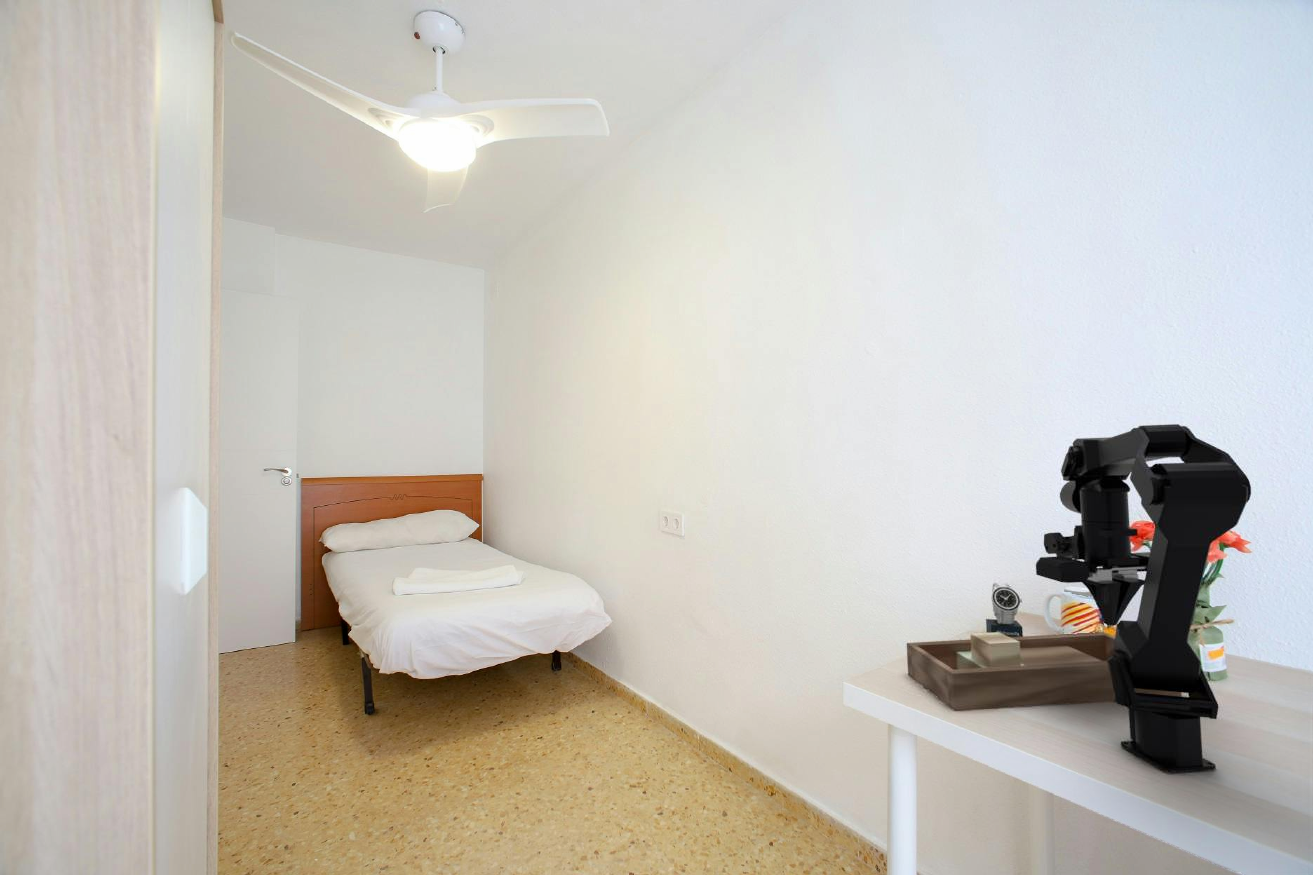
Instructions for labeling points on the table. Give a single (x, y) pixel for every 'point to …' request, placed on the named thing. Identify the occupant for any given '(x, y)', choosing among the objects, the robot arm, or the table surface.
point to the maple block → (995, 649)
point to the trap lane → (1019, 672)
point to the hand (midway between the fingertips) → (1110, 624)
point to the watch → (1004, 611)
